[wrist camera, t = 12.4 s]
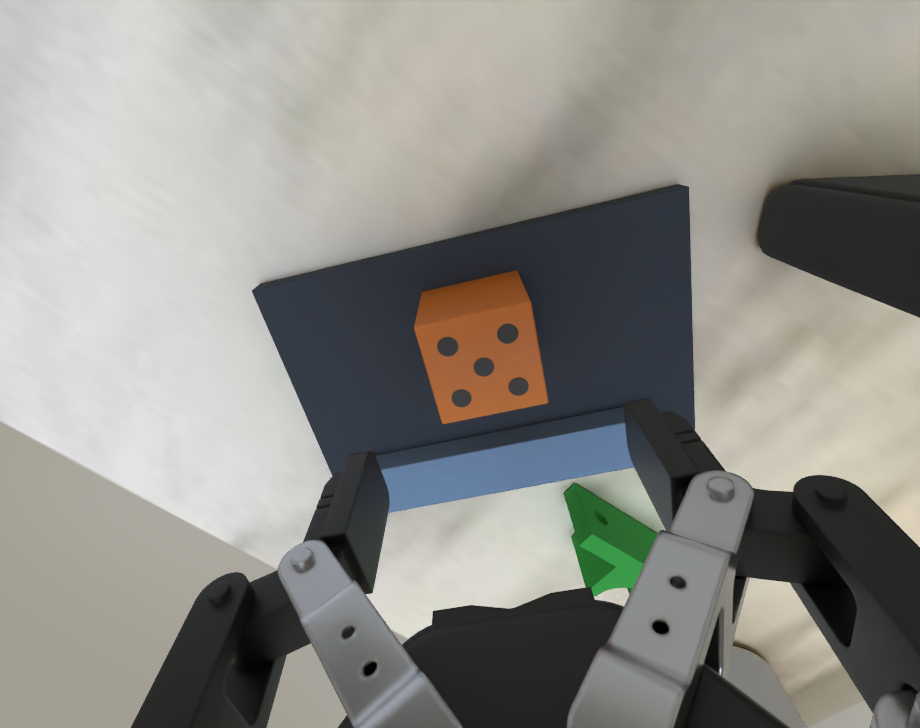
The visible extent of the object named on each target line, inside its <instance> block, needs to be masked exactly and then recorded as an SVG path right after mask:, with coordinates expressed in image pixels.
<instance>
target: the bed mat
mask: <svg viewBox="0 0 920 728" xmlns="http://www.w3.org/2000/svg"><path fill="white" fill-rule="evenodd" d="M515 270H516V271H518V273H519V276H520V278H521V280H522V282H523V285H524V287H525V289H526V292H527V294H528V296H529V299H530V301H531V304H532V310H533V316H534V321H535V327H536V333H537V338H538V344H539V350H540V355H541V361H542V367H543V372H544V378H545V384H546V389H547V395H548V403H547V404H542V405H537V406H532V407H527V408H522V409H517V410H512V411H507V412H502V413H497V414H492V415H487V416H482V417H477V418H472V419H467V420H462V421H457V422H452V423H447V424H442V422H441V418H440V415H439V412H438V408H437V405H436V401H435V398H434V395H433V391H432V388H431V385H430V381H429V378H428V374H427V371H426V368H425V364H424V361H423V357H422V354H421V351H420V347H419V344H418V340H417V337H416V334H415V330H414V325H415V320H416V316H417V312H418V307H419V303H420V298H421V294H422V292H424V291H428V290H432V289H437V288H441V287H446V286H450V285H454V284H459V283H463V282H467V281H472V280H476V279H481V278H485V277H489V276H494V275H498V274H502V273H507V272H511V271H515ZM252 292H253V295H254V297H255V299H256V302H257V304H258V306H259V308H260V311H261V313H262V315H263V318H264V320H265V322H266V324H267V327H268V329H269V331H270V334H271V336H272V338H273V341H274V343H275V345H276V347H277V350H278V352H279V354H280V357H281V359H282V361H283V363H284V366H285V368H286V370H287V373H288V375H289V377H290V379H291V382H292V384H293V386H294V389H295V391H296V393H297V395H298V398H299V400H300V402H301V405H302V407H303V409H304V411H305V414H306V416H307V418H308V421H309V423H310V425H311V427H312V430H313V432H314V434H315V437H316V439H317V441H318V444H319V446H320V448H321V450H322V453H323V455H324V457H325V460H326V462H327V464H328V466H329V469H330V471H331V473H332V476H333V475H334V474H335V473H339V472H342V471H343V468H344V465H345V463H346V460H347V457H348V456H349V455H351V454H356V453H361V452H367V451H373V452H374V454H375V456H376V459H377V461H378V464H379V466H380V469H381V472H382V474H383V477H384V479H385V482H386V485H387V487H388V491H389V499H390V505H389V511H388V513H390V512H395V511H401V510H406V509H411V508H417V507H422V506H428V505H433V504H438V503H444V502H449V501H455V500H460V499H465V498H471V497H476V496H482V495H487V494H492V493H498V492H503V491H509V490H514V489H519V488H525V487H530V486H535V485H541V484H546V483H552V482H557V481H562V480H568V479H573V478H579V477H584V476H589V475H595V474H600V473H606V472H611V471H616V470H622V469H627V468H633V467H634V465H633V463H632V461H631V458H630V455H629V451H628V446H627V438H626V428H625V418H624V403H625V402H630V401H635V400H641V399H646V398H650V399H651V400H652V402H653V403H654V405H655V406H656V408H657V409H658V410H659V412H660V413H661V412H666V411H673V412H675V413H676V414H678V415H680V416H682V417H684V418H685V419H686V420H687V421H688V422H689V424H690V425H691V426H692V428H693V429H694V432H695V414H694V374H693V334H692V293H691V253H690V213H689V187H687V186H683V185H673V186H669V187H665V188H661V189H657V190H652V191H648V192H644V193H640V194H636V195H631V196H627V197H623V198H619V199H615V200H610V201H606V202H602V203H598V204H594V205H590V206H585V207H581V208H577V209H573V210H569V211H564V212H560V213H556V214H552V215H548V216H543V217H539V218H535V219H531V220H527V221H522V222H518V223H514V224H510V225H506V226H502V227H497V228H493V229H489V230H485V231H481V232H476V233H472V234H468V235H464V236H460V237H455V238H451V239H447V240H443V241H439V242H434V243H430V244H426V245H422V246H418V247H414V248H409V249H405V250H401V251H397V252H393V253H388V254H384V255H380V256H376V257H372V258H367V259H363V260H359V261H355V262H351V263H346V264H342V265H338V266H334V267H330V268H325V269H321V270H317V271H313V272H309V273H305V274H300V275H296V276H292V277H288V278H284V279H279V280H275V281H271V282H267V283H263V284H260V285H259V286H257V287H256V288H255V289H253V290H252Z"/></svg>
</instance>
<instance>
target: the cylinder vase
mask: <svg viewBox="0 0 920 728" xmlns="http://www.w3.org/2000/svg"><path fill="white" fill-rule="evenodd" d="M726 680H728V681H729V682H730V683H732V684H733V685H734V686H736V687H737V688H738V689H740V690H741V691H742V692H744V693H745V694H746V695H748V696H749V697H750V698H752V699H753V700H754V701H756V702H757V703H758V704H760V705H761V706H762V707H764V708H765V709H766V710H768V711H769V712H770V713H771V714H773V715H774V716H775V717H777V718H778V719H779V720H781V721H782V722H783V723H785V724H786V725H787V726H789V727H790V728H807V726H806V725H805V723H804V721H803V720H802V718H801V716H800V714H799V713H798V711H797V709H796V708H795V706H794V704H793V703H792V701H791V699H790V697H789V696H788V694H787V692H786V691H785V689H784V687H783V686H782V684H781V682H780V680H779V679H778V677H777V675H776V674H775V672H774V670H773V669H772V668H771V666H770V665H769V664H768V663H767V662H766V661H765V660H763V659H762V658H761V657H759V656H758V655H756V654H754V653H753V652H750V651H748V650H746V649H743V648H740V647H736V646H732V653H731V660H730V666H729V671H728V675H727V679H726Z"/></svg>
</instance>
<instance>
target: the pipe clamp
mask: <svg viewBox="0 0 920 728" xmlns="http://www.w3.org/2000/svg"><path fill="white" fill-rule="evenodd" d="M564 496H565V500H566V503H567V506H568V510H569V513H570V516H571V520H572V523H573V527H574V530H575V534H574V535H573V536H572V540H573V544H574V547H575V551H576V555H577V558H578V562H579V565H580V569H581V572H582V576H583V579H584V583H585V586H586V588H587V587H591V589H592V592H593V595H594V596H597V595H598V594H600V593H602V592H604V591H606V590H609V589H613V588H627V589H628V592H629V594H630V593H631V591H632V589H633V587H634V584H635V582H636V580H637V578H638V576H639V574H640V571H641V569H642V567H643V565H644V563H645V561H646V558H647V556H648V554H649V552H650V550H651V548H652V545H653V543H654V541H655V539H656V537H657V535H658V533H656V532H654V531H653V530H651V529H650V528H648V527H646V526H645V525H643V524H641V523H640V522H638V521H637V520H635V519H633V518H632V517H630V516H628V515H627V514H625V513H623V512H622V511H620V510H619V509H617V508H615V507H614V506H612V505H610V504H609V503H607V502H605V501H604V500H602V499H601V498H599V497H597V496H596V495H594V494H592V493H591V492H589V491H587V490H586V489H584V488H583V487H581V486H579V485H578V484H576V483H574V484H573V485H572V486H571V487H570V488H569V489H568V490H567V491H566V492H565V493H564Z"/></svg>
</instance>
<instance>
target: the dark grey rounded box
mask: <svg viewBox="0 0 920 728" xmlns="http://www.w3.org/2000/svg"><path fill="white" fill-rule="evenodd" d="M758 239H759V244H760V248H761V249H762V251H763V253H765V254H766V255H768V256H770V257H772V258H774V259H777V260H779V261H782V262H784V263H786V264H789V265H791V266H794V267H796V268H798V269H801V270H803V271H806V272H808V273H810V274H813V275H815V276H818V277H820V278H822V279H825V280H827V281H830V282H832V283H835V284H837V285H840V286H842V287H845V288H847V289H850V290H852V291H855V292H857V293H860V294H862V295H865V296H867V297H870V298H872V299H875V300H877V301H880V302H882V303H885V304H887V305H890V306H892V307H895V308H897V309H900V310H902V311H905V312H907V313H910V314H912V315H915V316H917V317H920V175H896V176H872V177H848V178H823V179H801V180H795V181H793V182H792V183H790V184H789V185H785V186H781V187H779V188H777V189H776V190H774V191H773V192H772V193H771V194H770V196H769V197H768V199H767V201H766V204H765V208H764V213H763V217H762V222H761V226H760V230H759V235H758Z"/></svg>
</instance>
